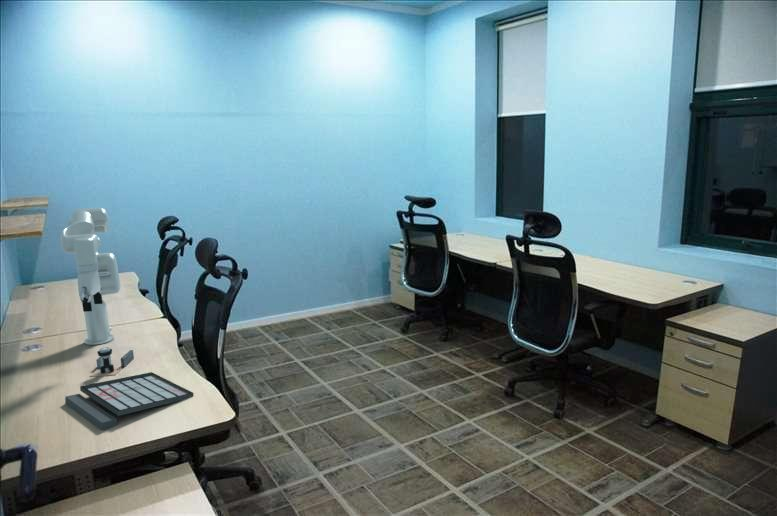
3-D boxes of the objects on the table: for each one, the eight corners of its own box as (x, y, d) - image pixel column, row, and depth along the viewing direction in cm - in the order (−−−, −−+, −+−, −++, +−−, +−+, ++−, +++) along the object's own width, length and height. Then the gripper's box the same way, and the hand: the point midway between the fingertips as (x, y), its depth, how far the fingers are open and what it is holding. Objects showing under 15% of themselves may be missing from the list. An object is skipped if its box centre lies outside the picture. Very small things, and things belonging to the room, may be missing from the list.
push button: (96, 376, 214) (92, 352, 212) (97, 371, 219) (93, 348, 217) (114, 372, 217) (111, 349, 215) (115, 368, 222) (112, 345, 220)
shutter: (151, 389, 215) (65, 408, 191) (151, 372, 215) (65, 389, 191) (193, 407, 195) (102, 431, 171) (193, 388, 194) (102, 410, 170)
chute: (108, 359, 232) (106, 351, 231) (134, 358, 233) (132, 349, 232) (97, 368, 222) (96, 359, 222) (124, 367, 223) (123, 358, 222)
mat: (97, 370, 221) (97, 369, 221) (122, 368, 222) (121, 368, 222) (89, 376, 215) (89, 376, 214) (115, 375, 215) (115, 374, 215)
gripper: (88, 262, 226) (93, 301, 230) (67, 273, 210) (73, 314, 214) (106, 262, 227) (111, 300, 231) (87, 272, 210) (93, 314, 214)
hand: (93, 307), depth 222 cm, fingers open, 9 cm apart
